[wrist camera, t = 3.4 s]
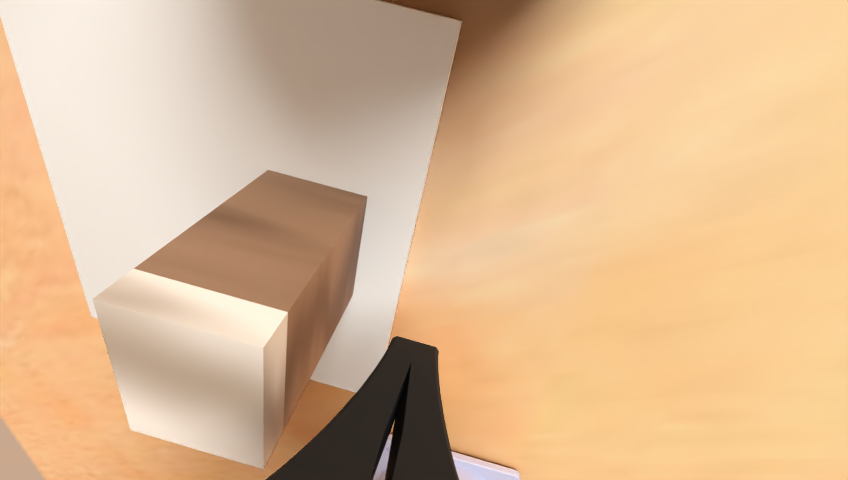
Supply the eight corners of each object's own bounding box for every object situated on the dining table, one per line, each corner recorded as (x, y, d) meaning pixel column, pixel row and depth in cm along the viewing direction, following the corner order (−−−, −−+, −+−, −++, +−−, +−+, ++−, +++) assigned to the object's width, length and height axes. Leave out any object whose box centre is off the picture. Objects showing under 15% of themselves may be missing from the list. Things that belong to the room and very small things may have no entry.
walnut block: (352, 295, 18) (263, 469, 12) (267, 271, 19) (130, 430, 12) (367, 196, 16) (263, 348, 9) (268, 169, 16) (92, 298, 9)
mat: (377, 390, 22) (375, 398, 22) (99, 310, 23) (91, 316, 22) (462, 20, 13) (460, 21, 12) (-19, -100, 13) (-37, -103, 13)
